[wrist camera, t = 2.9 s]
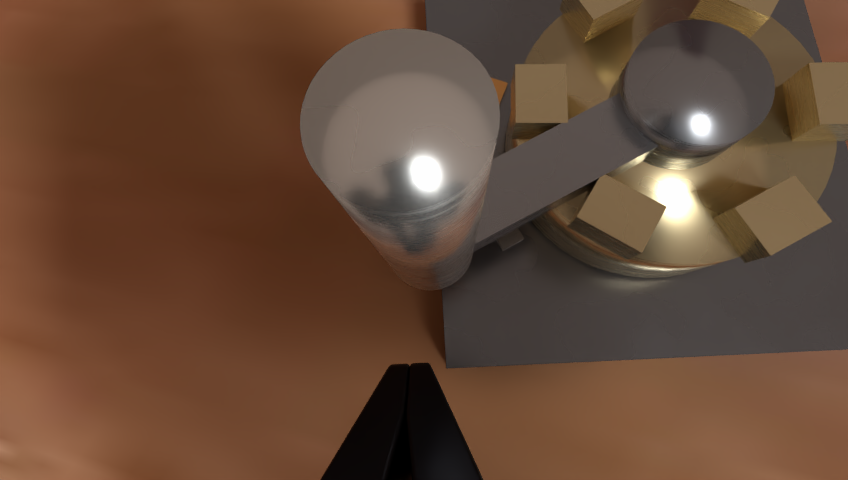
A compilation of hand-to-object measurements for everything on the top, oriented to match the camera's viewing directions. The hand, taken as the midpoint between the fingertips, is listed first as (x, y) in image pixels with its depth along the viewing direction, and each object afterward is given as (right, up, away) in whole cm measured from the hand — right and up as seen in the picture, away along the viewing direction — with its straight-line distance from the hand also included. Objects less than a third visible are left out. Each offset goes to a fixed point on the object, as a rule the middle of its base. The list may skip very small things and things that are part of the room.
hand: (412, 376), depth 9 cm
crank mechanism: (+5, +5, +6) cm, 9 cm away
